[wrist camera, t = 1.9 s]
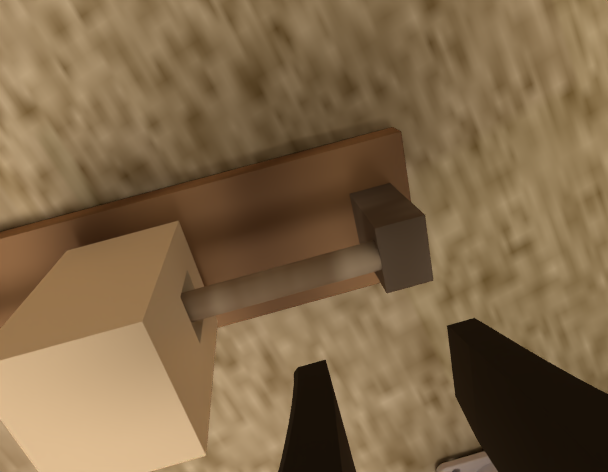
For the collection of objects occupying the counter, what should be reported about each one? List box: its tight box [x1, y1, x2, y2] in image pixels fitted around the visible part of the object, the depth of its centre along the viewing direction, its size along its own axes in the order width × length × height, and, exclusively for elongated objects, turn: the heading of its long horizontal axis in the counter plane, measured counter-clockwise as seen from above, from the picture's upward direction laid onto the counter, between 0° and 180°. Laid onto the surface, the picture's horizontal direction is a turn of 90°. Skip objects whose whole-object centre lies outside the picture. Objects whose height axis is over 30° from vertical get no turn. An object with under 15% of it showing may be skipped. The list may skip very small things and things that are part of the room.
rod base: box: [0, 127, 433, 328], centre depth 15 cm, size 24×6×6 cm, turn 103°
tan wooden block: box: [0, 221, 218, 472], centre depth 13 cm, size 4×4×6 cm
